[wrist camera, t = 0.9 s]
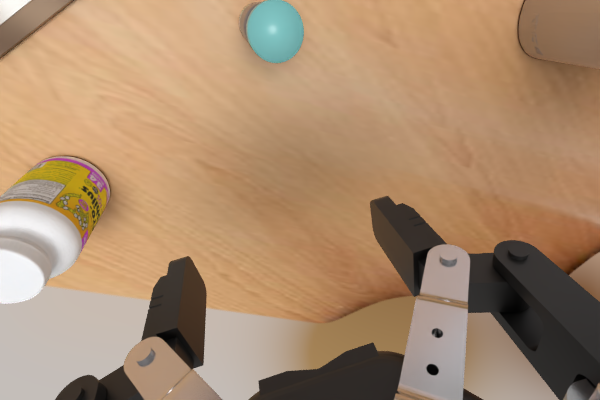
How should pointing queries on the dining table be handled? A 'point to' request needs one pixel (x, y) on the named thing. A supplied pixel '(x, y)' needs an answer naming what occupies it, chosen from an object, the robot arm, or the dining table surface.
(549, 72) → the dining table surface
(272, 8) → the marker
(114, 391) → the robot arm
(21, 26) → the clipboard
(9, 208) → the supplement bottle
